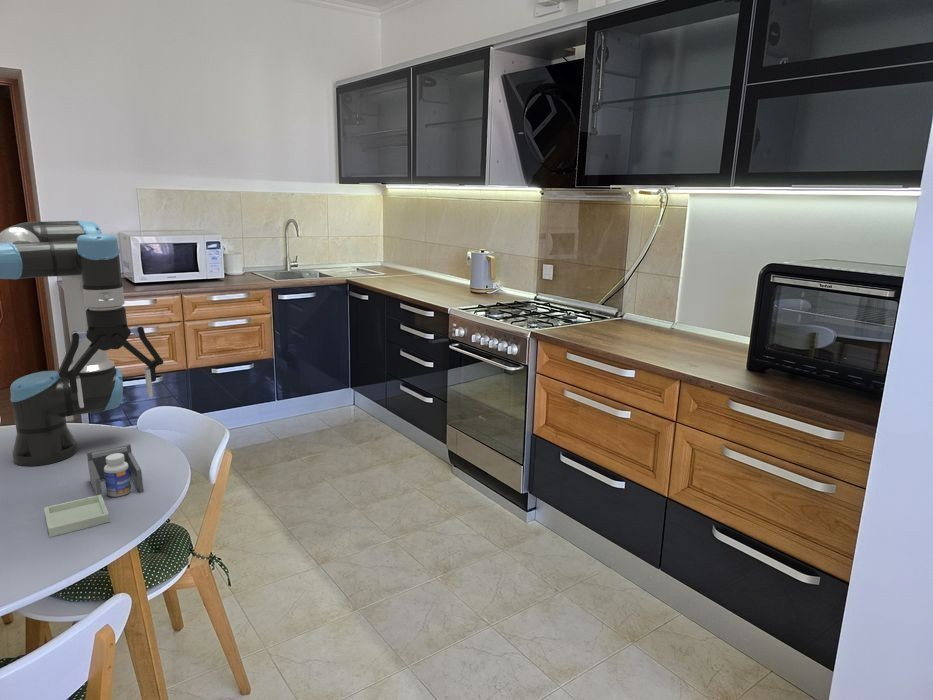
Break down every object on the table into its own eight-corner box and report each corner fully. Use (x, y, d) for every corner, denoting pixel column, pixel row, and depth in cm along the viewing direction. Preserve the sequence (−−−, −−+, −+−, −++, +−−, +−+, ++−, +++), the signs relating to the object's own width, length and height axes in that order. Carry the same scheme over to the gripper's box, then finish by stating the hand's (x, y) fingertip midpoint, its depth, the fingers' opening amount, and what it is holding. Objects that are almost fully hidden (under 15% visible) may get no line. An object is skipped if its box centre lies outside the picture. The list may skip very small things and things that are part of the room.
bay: (90, 480, 164) (86, 452, 163) (133, 471, 170) (130, 443, 168) (98, 502, 154) (94, 471, 152) (143, 491, 159) (140, 462, 157)
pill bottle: (121, 498, 156) (116, 461, 153) (101, 496, 157) (97, 459, 154) (136, 488, 161) (132, 453, 159) (117, 486, 162) (113, 450, 160)
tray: (45, 515, 147) (44, 507, 147) (102, 501, 154) (101, 494, 153) (49, 537, 138) (48, 529, 138) (109, 521, 145) (108, 514, 144)
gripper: (36, 315, 127) (51, 415, 132) (171, 304, 141) (180, 395, 146) (35, 309, 133) (49, 405, 138) (164, 299, 147) (173, 387, 152)
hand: (116, 400), depth 142 cm, fingers open, 13 cm apart
